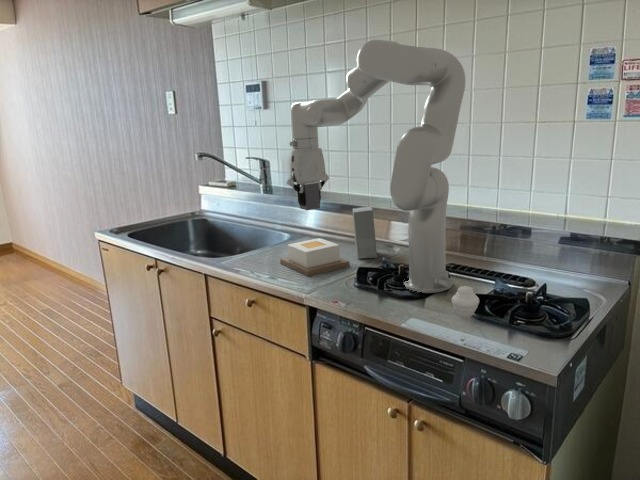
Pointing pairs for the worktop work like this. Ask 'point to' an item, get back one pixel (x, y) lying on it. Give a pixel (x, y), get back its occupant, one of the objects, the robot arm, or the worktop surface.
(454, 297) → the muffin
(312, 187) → the plug
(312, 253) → the socket
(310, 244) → the plate
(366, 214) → the skincare box
